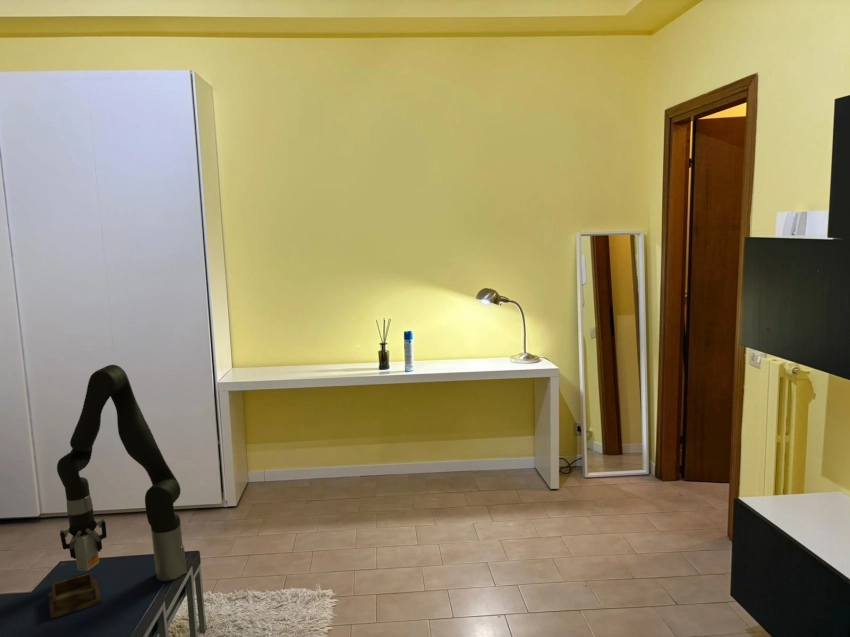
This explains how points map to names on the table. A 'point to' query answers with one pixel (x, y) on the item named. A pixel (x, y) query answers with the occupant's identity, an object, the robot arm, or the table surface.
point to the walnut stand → (73, 595)
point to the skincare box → (86, 552)
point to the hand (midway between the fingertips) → (86, 554)
